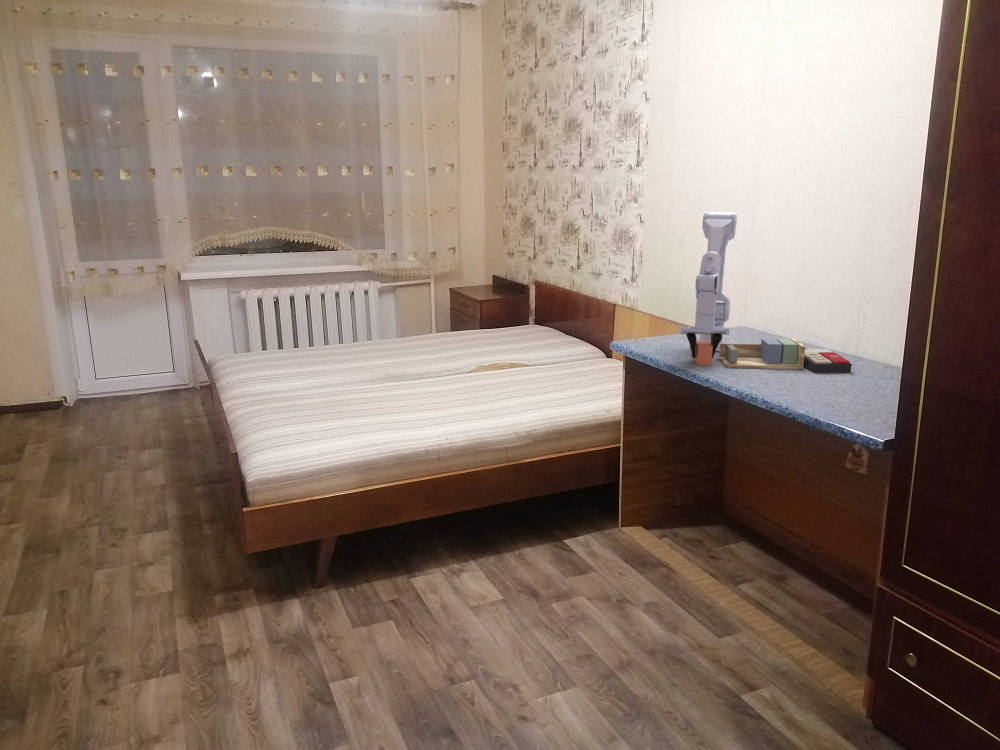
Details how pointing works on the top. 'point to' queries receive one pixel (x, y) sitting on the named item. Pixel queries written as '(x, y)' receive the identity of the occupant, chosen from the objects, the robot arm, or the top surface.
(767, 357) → the book
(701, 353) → the orange rectangular block
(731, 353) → the bookend
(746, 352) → the shelf
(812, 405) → the top surface
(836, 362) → the calculator
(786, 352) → the book
